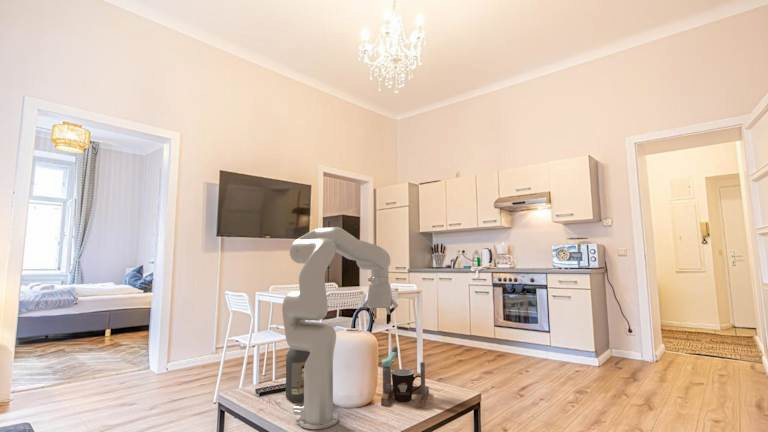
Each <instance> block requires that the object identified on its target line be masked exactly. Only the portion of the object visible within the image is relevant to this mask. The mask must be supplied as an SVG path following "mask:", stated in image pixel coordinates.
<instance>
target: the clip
mask: <svg viewBox="0 0 768 432" xmlns="http://www.w3.org/2000/svg"><path fill="white" fill-rule="evenodd" d="M398 357H399V355H398V347H397V346H392V347H391V352H390V354H389V355H387V357H386V358H384V359H382V360H381V366H382V368H383V367H390V366H391V367H392V362H393V361H394V360H395V359H397V358H398Z"/></svg>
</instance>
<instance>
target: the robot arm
mask: <svg viewBox="0 0 768 432" xmlns="http://www.w3.org/2000/svg"><path fill="white" fill-rule="evenodd" d="M336 253H337V254H339V255H341V256H342V257H344V258H345V259H347V260H352V261H355V262H356V265H357V267H358V268H360V269H361V270H366V271H367V270H368V271H369V270H370V275H371V277H369V278H367V282H370V284H368V292H367V299H366V301H365V302H364V303H363V304H362V306H363V308H364V307H367V309H365V310H366V311H367V312H368V314H369V315H370V311H371V313H372V314H373V316H374V320H373V324H374V323H375V321H376V320H375V313H374V311H375V309H385V310H386V313H387V314H386V324H387V325H389V324H390V323H391V322H392V315H391V314H392V313H393V312H394V311H395V310H396V309H397V308H398V307H399V303H397V302H396V301H395V300H394V299H393V294H392V286H391V283H390V282H389V281H390V279H389V267H390V265H391V256H390V254H389V253H388V251H387V250H386V249H384V248H382V247H381V246H380V245H377V244H374V243H371V242H367V241H364V240H361V239H358V238H357V237H355V236H354V235H352V234H351V233H349V232H348V231H346V230H345V229H343V228H342V227H340V226H330V227H329V226H328V227H318V228H317V227H316V228H315V229H312V230H310V231H309V232H307V233H305V234H304V235H302V236H300V237H298V238H297V239H295V240H294V241H293V242H292V243H291V245H290V248H289V256H290V258H291V260H292V261H293V262H295V263H297V264H304V265H303V266H302V269H300V272H299V274H298V275H299V276H298V286H299V287H298V288H299V290H294V291H290V292H288V293H287V294H286V295H285V297H284V299H283V301H282V305H281V306H282V307H281V310H282V311H281V313H282V318H283V319H282V321H283V327H284V334H285V335H284V336H285V341H286V343H287V345H288V347H290V349H291V348H292V349H295V350H301V351H308V352H310V355H309V357H308V358H307V360H306V362H305V365H304V401H303V406H301V405H300V406H297V405H295V406H293V408H292V411H293V413H292V415H296V416H300V417H299V419H298V425H299V426H300V427H301V428H303V429H307V430H322V429H327V428H330V427H332V426H334V425H336V424H337V423H338V420H339V419H338V418H339V416H338V415H337V413H335V412H334V354H335V353H334V352H335V347H336V341H337V332H336V329H335V328H334V327H333V325H330V324H328V323H325V322H316V321H319V320H324V319H325V318H326V316H327V314H328V310H329V309H328V308H329V306H328V304H329V303H328V297H327V289H326V279H325V277H326V271H327V269H328V267H329V265H330V263H331V262H332V260H333V259H334V258H335V255H336ZM392 306H393V307H392ZM313 321H314V322H313Z"/></svg>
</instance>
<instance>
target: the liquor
mask: <svg viewBox="0 0 768 432" xmlns="http://www.w3.org/2000/svg"><path fill="white" fill-rule="evenodd" d="M309 355H310V352H308V351H301V350H295V349H292V348H291V347H290V349H289V350H288V351H287V353H286V356H285V360H286V361H285V366H286V367H285V397H286V399H287V398H288V399H289V401H290V402H291V401H292V402H291V403H302V402H304V365H305V362H306V360H307V358H308V357H309ZM288 399H287V400H288Z"/></svg>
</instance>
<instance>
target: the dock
mask: <svg viewBox="0 0 768 432" xmlns="http://www.w3.org/2000/svg"><path fill="white" fill-rule="evenodd" d="M425 363H426V362H425V361H421V362H420V364H419V365H420V370H419V371H420V376H421V377H420V385H421V387H420V388H419V389H417V390H416V391H414V392H413V393H412V394H419V395H420V400H419V409H425V406H426V402H427V399H428V398H429V397H428V396H429V392H430V391H429V387H430V386H426V364H425ZM391 372H392V365H391V366H390V367H383V366H382V396H381V398H380V405H381V406H382V407H383V406H384V407H387V406H388V404H389V403H390V401H391V399H392V398H393V397H394V390H393V384H392V375H391ZM420 385H413V389H412V390H414V389H416V388H417V387H419V386H420Z"/></svg>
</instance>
